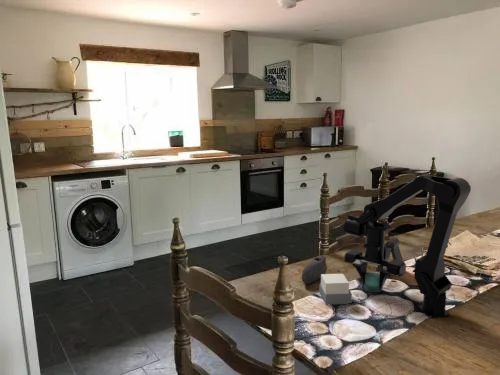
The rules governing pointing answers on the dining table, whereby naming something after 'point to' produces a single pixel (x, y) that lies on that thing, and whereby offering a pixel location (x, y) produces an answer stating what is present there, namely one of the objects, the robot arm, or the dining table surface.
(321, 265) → the perforated stone tool
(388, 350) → the dining table surface
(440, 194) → the robot arm
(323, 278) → the off-white top block
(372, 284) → the teal short cylinder
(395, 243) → the grey a-frame stand
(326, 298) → the slate base block
